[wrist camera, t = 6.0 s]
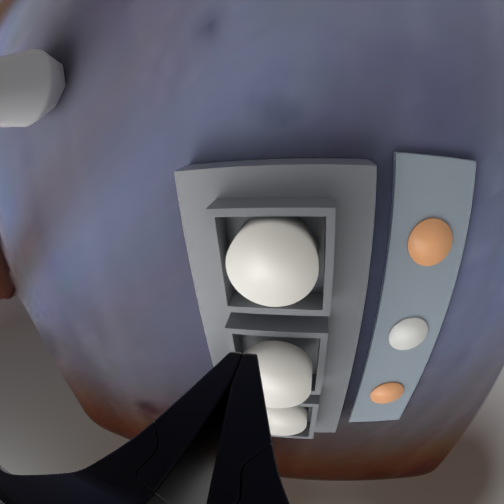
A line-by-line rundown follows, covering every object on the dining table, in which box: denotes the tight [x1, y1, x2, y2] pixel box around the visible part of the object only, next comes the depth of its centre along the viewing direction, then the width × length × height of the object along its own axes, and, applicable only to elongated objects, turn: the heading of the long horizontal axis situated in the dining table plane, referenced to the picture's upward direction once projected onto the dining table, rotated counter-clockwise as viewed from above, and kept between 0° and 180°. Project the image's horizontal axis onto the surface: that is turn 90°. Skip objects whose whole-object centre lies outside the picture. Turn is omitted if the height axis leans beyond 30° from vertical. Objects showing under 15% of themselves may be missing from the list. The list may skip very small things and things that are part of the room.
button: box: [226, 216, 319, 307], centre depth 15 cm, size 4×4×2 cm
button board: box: [174, 158, 377, 439], centre depth 19 cm, size 23×10×4 cm, turn 5°
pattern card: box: [349, 151, 476, 422], centre depth 18 cm, size 24×5×1 cm, turn 5°
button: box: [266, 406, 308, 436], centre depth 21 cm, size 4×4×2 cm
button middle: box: [243, 341, 313, 408], centre depth 16 cm, size 4×4×2 cm
